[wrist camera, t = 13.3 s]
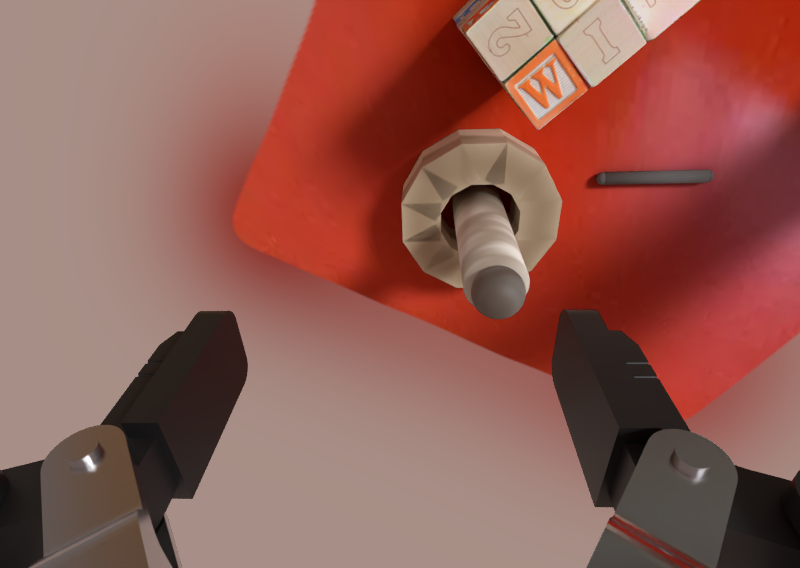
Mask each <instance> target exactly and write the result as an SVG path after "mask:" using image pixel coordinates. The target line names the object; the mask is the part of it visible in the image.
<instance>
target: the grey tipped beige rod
mask: <svg viewBox="0 0 800 568" xmlns="http://www.w3.org/2000/svg"><path fill="white" fill-rule="evenodd" d="M452 207H453V215H454V223H455V230H456V238H457V245H458V253H459V260H460V268H461V275H462V283H463V290H464V294H465V296H466V298H467V300H468V301H469V302H470V303H471V304H472V305H473V306H475V307H476V309H477V310H478V311H479V312H480V313H481V314H483V315H484V316H486V317H489V318H492V319H505V318H508V317H511V316H513V315H514V314H515V313H517V312H518V311H519V310H520V308H521V307H522V305H523V303H524V301H525V297H526V294H527V292H528V289H529V285H530V278H529V274H528V271H527V269H526V266H525V263H524V260H523V258H522V255H521V252H520V250H519V247H518V244H517V241H516V239H515V236H514V233H513V230H512V228H511V225H510V222H509V220H508V217H507V214H506V211H505V209H504V206H503V203H502V200H501V198H500V195H499V192H498V190H497V189H496V187H495V186H494V185H493V184H490V185H470V186H468V187H466V188H465V189H463V190H461V191H459V192H457V193H456V194H454V195H453V199H452Z"/></svg>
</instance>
